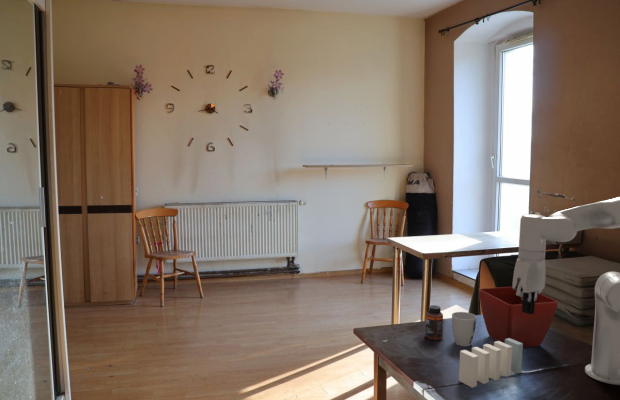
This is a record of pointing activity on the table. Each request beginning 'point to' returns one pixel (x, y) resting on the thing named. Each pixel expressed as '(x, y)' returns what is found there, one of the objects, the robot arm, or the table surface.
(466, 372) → the domino
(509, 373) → the domino
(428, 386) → the table surface
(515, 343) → the domino
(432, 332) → the supplement bottle
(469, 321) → the cup
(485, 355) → the domino
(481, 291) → the plant pot
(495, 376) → the domino
